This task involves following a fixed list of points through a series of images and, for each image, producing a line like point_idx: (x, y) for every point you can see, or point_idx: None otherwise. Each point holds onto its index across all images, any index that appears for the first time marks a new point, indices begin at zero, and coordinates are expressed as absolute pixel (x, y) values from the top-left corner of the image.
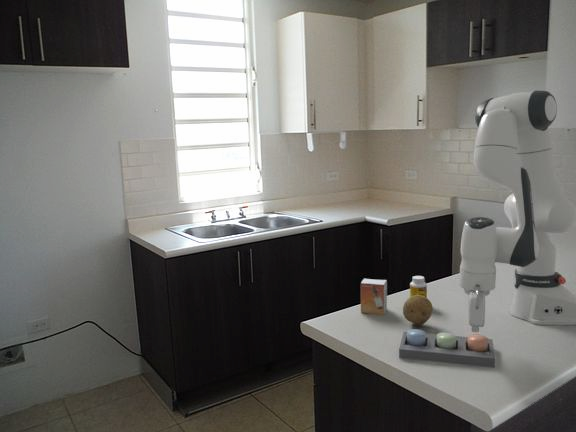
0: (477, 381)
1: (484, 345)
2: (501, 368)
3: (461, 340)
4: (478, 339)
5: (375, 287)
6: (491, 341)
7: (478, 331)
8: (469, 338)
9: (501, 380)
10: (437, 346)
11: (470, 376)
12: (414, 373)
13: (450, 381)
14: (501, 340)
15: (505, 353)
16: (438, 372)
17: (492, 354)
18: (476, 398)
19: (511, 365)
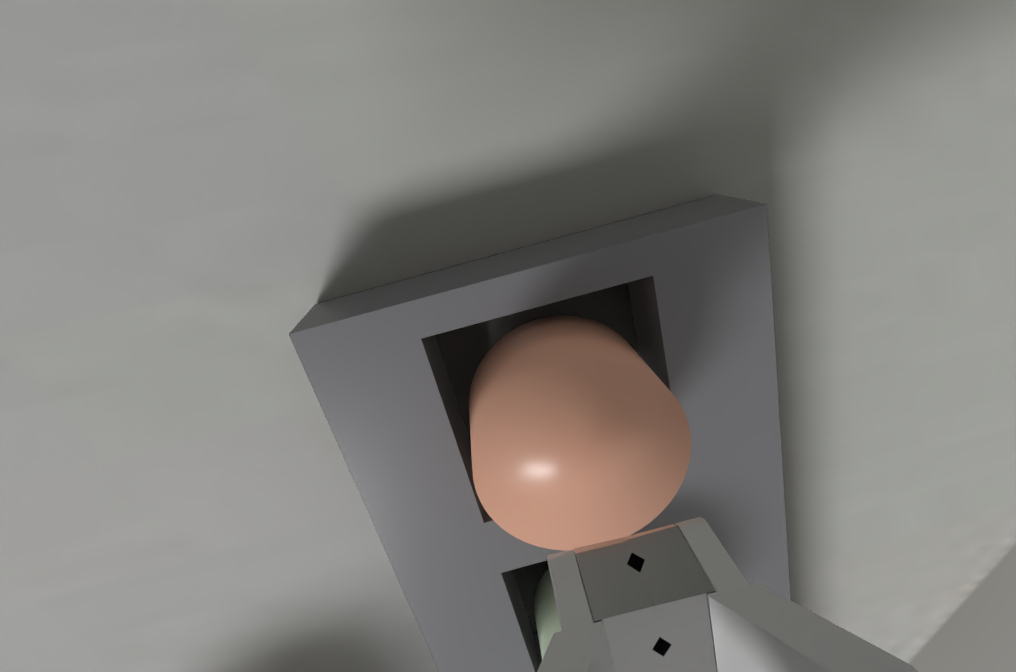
0: (979, 264)
1: (641, 359)
2: (711, 138)
3: (485, 553)
4: (619, 448)
5: None
6: (357, 328)
7: (703, 520)
8: (627, 526)
9: (933, 95)
10: None
11: (912, 326)
12: (936, 599)
13: (1004, 415)
14: (73, 262)
15: (373, 164)
16: (897, 506)
17: (683, 248)
18: None
19: (617, 60)
